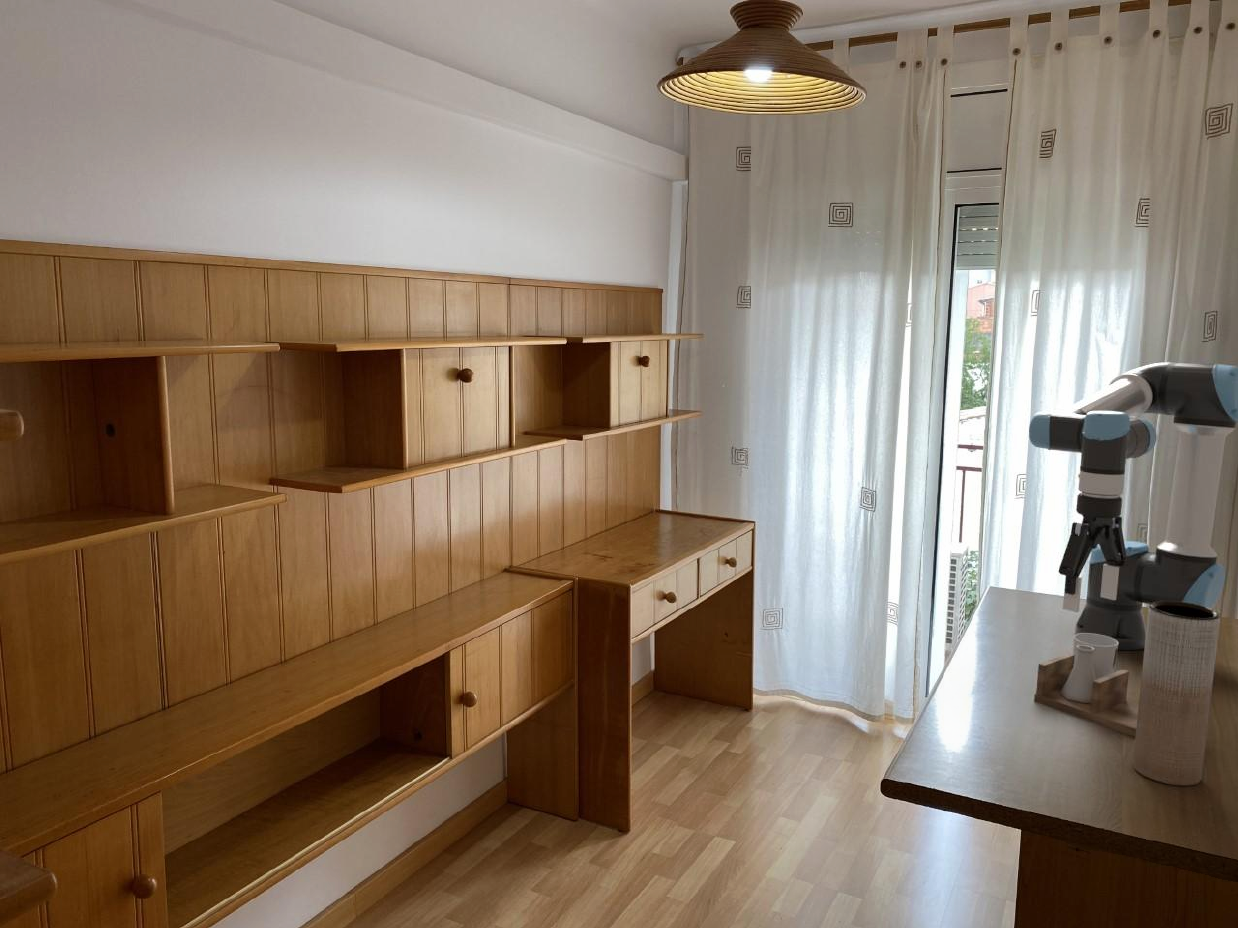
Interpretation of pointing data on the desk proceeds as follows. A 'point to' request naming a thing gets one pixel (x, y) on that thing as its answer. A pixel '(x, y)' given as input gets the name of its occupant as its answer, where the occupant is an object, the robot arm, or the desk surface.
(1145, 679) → the vase
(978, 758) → the desk surface
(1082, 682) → the flask
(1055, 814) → the desk surface
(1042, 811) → the desk surface
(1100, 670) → the cup
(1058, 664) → the rack
